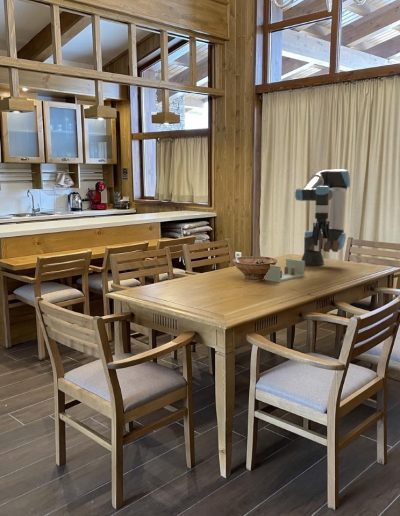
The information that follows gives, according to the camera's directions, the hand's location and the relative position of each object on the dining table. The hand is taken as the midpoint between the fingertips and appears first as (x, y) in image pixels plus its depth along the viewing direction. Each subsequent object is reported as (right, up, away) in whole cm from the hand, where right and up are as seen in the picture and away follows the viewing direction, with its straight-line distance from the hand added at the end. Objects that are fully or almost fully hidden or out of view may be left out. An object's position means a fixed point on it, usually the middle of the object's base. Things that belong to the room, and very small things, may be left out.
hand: (320, 249), depth 295 cm
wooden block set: (+1, -1, +1) cm, 2 cm away
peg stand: (-23, -16, -1) cm, 28 cm away
